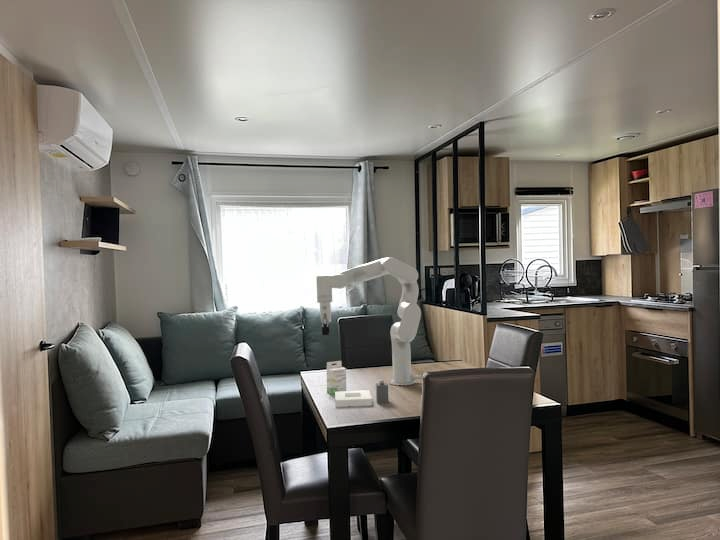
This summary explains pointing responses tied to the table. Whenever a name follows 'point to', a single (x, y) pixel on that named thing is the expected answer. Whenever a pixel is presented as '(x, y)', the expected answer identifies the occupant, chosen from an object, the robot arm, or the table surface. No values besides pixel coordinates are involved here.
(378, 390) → the plug
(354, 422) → the table surface
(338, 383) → the ink box
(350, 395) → the socket
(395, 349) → the robot arm
